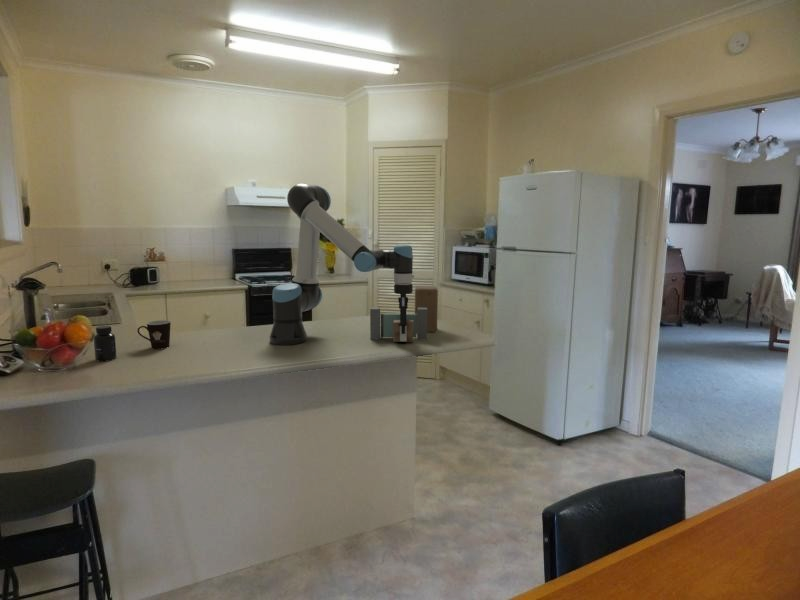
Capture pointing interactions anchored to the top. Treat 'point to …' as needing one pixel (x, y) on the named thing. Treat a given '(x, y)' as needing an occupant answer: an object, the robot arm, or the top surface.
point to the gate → (388, 324)
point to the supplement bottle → (104, 344)
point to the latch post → (422, 323)
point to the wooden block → (427, 305)
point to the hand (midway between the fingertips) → (403, 339)
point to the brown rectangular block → (409, 331)
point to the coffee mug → (158, 333)
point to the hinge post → (375, 323)
